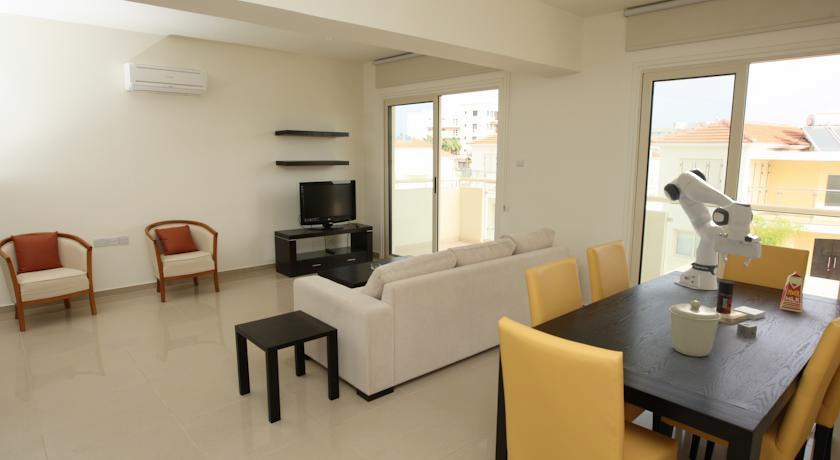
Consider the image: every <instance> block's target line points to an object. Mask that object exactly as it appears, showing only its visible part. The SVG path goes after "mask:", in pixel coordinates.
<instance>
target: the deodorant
mask: <svg viewBox="0 0 840 460" xmlns="http://www.w3.org/2000/svg"><path fill="white" fill-rule="evenodd" d="M734 285H735V283H734V281H731V280H725V279H721V280H718V289H717V290H718V291H717V292H718V293H717V299H716V300H717V302H716V307H717V308H716V311H717V312H718V313H721V314H730V313H731V310H732V304H733V303H732V301H733V295H734Z"/></svg>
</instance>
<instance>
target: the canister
mask: <svg viewBox="0 0 840 460" xmlns="http://www.w3.org/2000/svg"><path fill="white" fill-rule="evenodd" d="M711 308H712V307H709V306H705V305H701V301H699V300H695V299H694V300H691V301H690V303H678V304H674V305H672V306H669V308H668V310H669V313H670V334H671V345H672V347H673V349H674V350H675V351H676V352H678V353H680V354H682V355H686V356H690V357H697V358H699V357H701V358H702V357H705V356H708V355H709V354H710V353H711V351H712V350H713V349H712V348H713V345H714V341H715V337H716V334H717V329H718V325H719V322H720V321H719V319H721V314H719V313H718V312H717V311H715V310H714V309H711Z"/></svg>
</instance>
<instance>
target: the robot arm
mask: <svg viewBox="0 0 840 460" xmlns="http://www.w3.org/2000/svg"><path fill="white" fill-rule="evenodd" d="M706 181H707V177H706V175H705V173H704V172H703V171H701V169H699V168H693V169H691V170H689V171H684V172H681V174H680V175H678V176H677V177H676V178H675V179H674V180H672V181H671V182H668V183H667V184H666V185H664V186H663V193H664V195H665V197H666V198H667V199H669V200H670V201H673V202H675V201H678V202H679V204H680V207H681V208H682V210H683V211H684V213H685V215H686V216H687V217H688V219H689V221H690V223H691V226H692V227H693V229H694V232H695V234H696V235H697V236H698V237H700V240H699V244H698V246H697V248H696V250H695V251H696V252H695V261H693V262H691V263H690V266H691V268H689V269H686V270H684V271H683V272H681V274H680V275H679V279H676V280H674V283H675V284H678V285H680V286H683V287H686V288H689V289H693V290H703V291H704V290H705V291H716V290H718V289H719V286H718V283H717V275H718V267H719V266H718V258H719V254H720V256H721V258H722V263H728V258H727V257H726V255H732V256H737V257H743V258H744V257H745V258H746V261H745V262H743V267H746V268H747V267H749V265H750V264H749V263H750V262H751V261H752V260H753V259H755V260H757V259H759V258H761V257H762V252H763V249H762V248H763V247H762V244H761V241H762V238H761V236H758V235H756V234H753V233H751V228H750V227H751V226H750V225H751V222H752V221H753V219H754V214H753V211H752V205H751V204H750V203H749V202H746V201H740V200H739V201H737V200H734V199H733V198H731V197H729V196H728V195H727V194H725V193H724V192H722V191H720V190H719V189H717V188H716V187H715V188H714V187H713V186H712V185H710V184H708V183H707V182H706ZM706 204H712V205H716V206H718V207H717V208H715V209H713V212H712V215H711V213H710V211H709V208H708V206H707V205H706ZM723 227H728V229H727V233H726V231H725V229H724V228H723Z"/></svg>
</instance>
